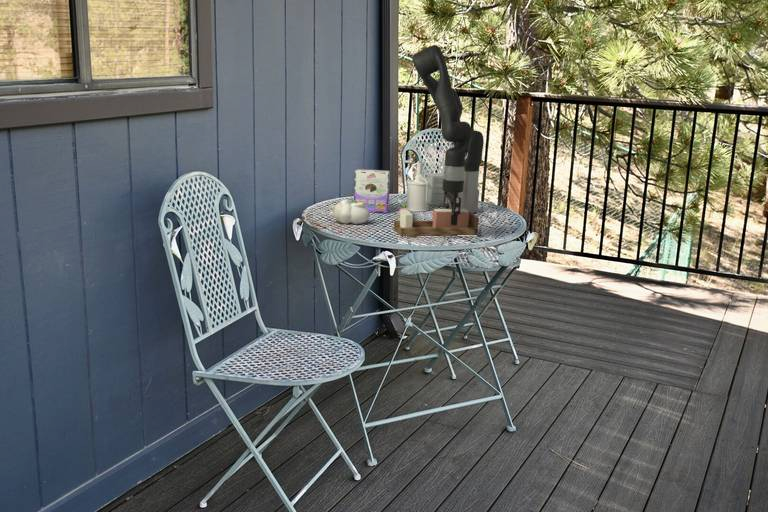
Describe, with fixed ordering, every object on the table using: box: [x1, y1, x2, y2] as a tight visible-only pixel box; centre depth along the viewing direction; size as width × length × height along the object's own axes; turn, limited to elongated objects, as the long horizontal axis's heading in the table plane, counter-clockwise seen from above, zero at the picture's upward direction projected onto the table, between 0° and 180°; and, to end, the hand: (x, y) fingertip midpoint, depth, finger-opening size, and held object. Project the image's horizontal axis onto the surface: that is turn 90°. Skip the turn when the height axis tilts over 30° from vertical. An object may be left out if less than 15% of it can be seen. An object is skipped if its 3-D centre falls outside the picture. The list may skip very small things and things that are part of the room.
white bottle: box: [406, 160, 430, 213], centre depth 328 cm, size 10×9×20 cm
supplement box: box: [426, 172, 444, 206], centre depth 343 cm, size 7×7×13 cm
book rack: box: [393, 211, 480, 238], centre depth 291 cm, size 28×12×7 cm, turn 101°
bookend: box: [399, 210, 414, 228], centre depth 289 cm, size 2×9×6 cm, turn 11°
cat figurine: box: [328, 198, 371, 225], centre depth 300 cm, size 10×8×15 cm
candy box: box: [353, 168, 391, 214], centre depth 322 cm, size 14×6×16 cm, turn 84°
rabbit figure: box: [395, 202, 413, 216], centre depth 315 cm, size 6×6×15 cm
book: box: [432, 208, 469, 228], centre depth 292 cm, size 12×4×7 cm, turn 101°
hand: (450, 222), depth 292 cm, fingers open, 8 cm apart
